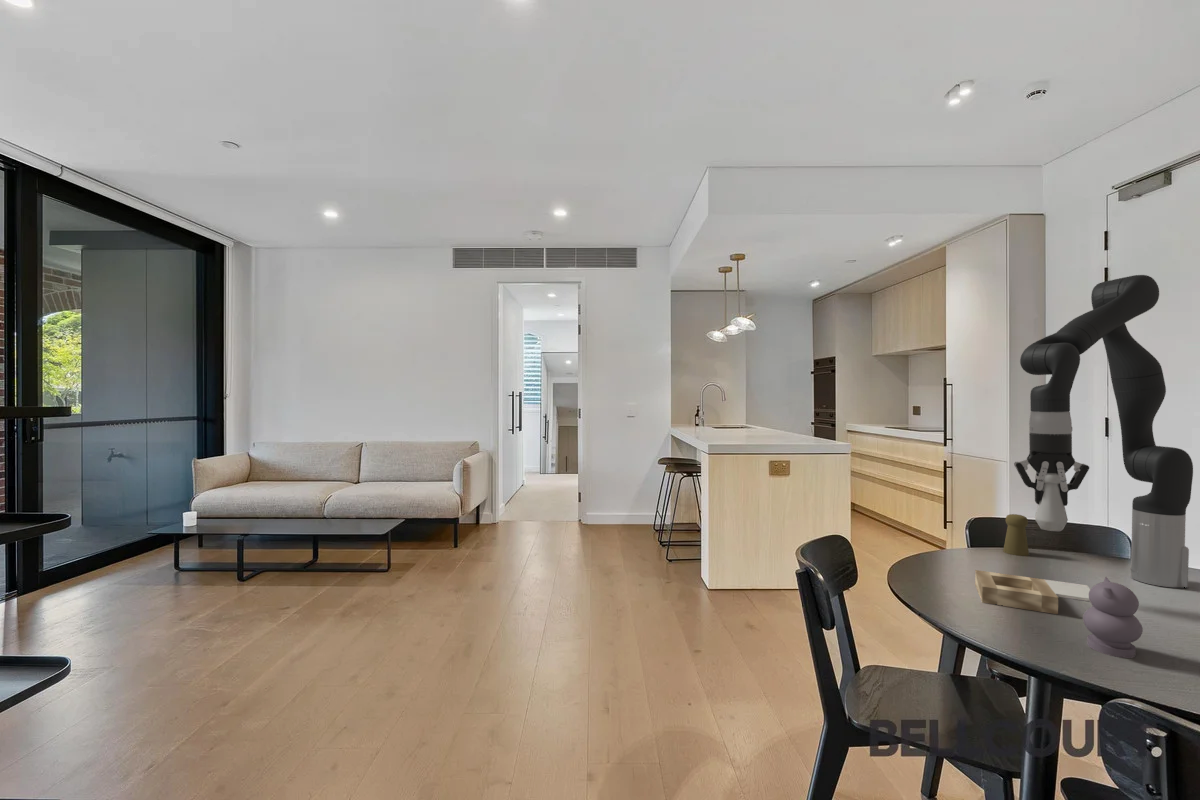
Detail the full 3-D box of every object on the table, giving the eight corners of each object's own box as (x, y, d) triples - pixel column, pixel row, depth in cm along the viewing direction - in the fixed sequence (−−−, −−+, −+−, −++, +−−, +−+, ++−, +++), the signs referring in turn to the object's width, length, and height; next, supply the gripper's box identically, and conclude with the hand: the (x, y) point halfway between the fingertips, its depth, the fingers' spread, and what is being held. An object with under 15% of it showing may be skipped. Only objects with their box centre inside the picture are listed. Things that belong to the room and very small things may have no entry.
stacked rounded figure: (1142, 665, 93) (1144, 594, 93) (1081, 650, 99) (1082, 583, 98) (1141, 648, 99) (1143, 582, 99) (1083, 635, 105) (1084, 572, 105)
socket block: (1043, 594, 126) (1044, 579, 126) (1057, 614, 115) (1058, 597, 115) (975, 584, 132) (975, 570, 132) (982, 602, 121) (982, 586, 121)
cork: (1010, 555, 157) (1011, 516, 157) (998, 549, 163) (999, 512, 163) (1034, 556, 156) (1034, 517, 156) (1021, 550, 162) (1022, 513, 162)
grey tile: (1086, 587, 131) (1086, 585, 131) (1101, 603, 121) (1101, 600, 121) (1028, 579, 136) (1028, 577, 136) (1038, 593, 127) (1038, 591, 127)
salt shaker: (1055, 525, 129) (1055, 470, 129) (1074, 532, 124) (1073, 474, 123) (1028, 526, 130) (1028, 470, 130) (1046, 532, 124) (1045, 474, 124)
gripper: (1085, 430, 126) (1085, 506, 127) (1009, 429, 133) (1010, 501, 133) (1095, 433, 120) (1096, 512, 120) (1015, 432, 126) (1016, 507, 127)
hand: (1050, 506), depth 127 cm, fingers closed on salt shaker, 3 cm apart
